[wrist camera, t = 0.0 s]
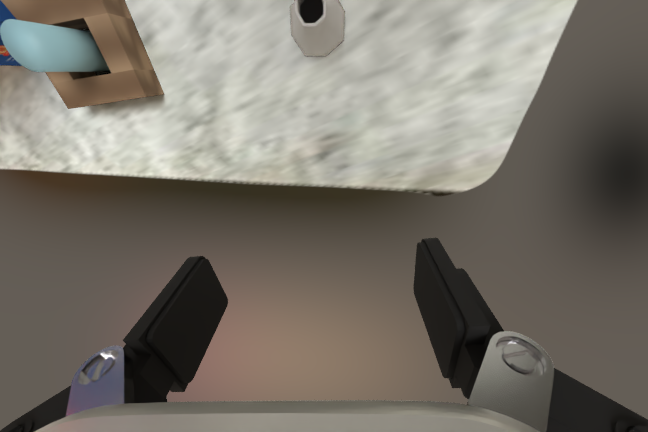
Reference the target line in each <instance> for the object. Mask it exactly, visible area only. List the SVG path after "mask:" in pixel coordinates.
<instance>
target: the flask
mask: <svg viewBox="0 0 648 432" xmlns="http://www.w3.org/2000/svg"><path fill="white" fill-rule="evenodd" d="M290 18H291V35H292V37H293V38H294V40H295V41H296V43H297V44H298V46H299V47H300V49H301V50H302V52H303V53H304V55H305V56H327V55H328V54H329V53H330V52H331V51H332V50H334V49H335V48H336V47H337V46H338V45H339V44H340V43H341V42H342V41H344V24H345V11H344V9H343V7H342V6H341V4H340V2H339V0H294V3H293V4H292V5H291V6H290Z"/></svg>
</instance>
